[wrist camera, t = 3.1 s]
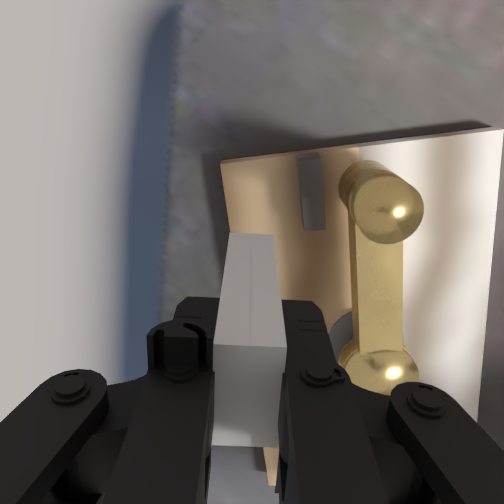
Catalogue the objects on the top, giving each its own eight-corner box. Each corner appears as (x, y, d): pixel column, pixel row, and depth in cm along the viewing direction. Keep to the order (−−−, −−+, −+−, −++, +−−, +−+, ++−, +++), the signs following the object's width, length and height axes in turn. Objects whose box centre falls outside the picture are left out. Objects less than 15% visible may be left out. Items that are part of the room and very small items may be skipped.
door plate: (492, 126, 25) (561, 142, 20) (465, 457, 35) (506, 532, 29) (221, 160, 26) (211, 184, 20) (268, 473, 36) (270, 548, 30)
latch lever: (403, 375, 29) (431, 432, 24) (337, 381, 29) (352, 439, 25) (405, 155, 24) (441, 174, 19) (324, 164, 24) (339, 186, 19)
